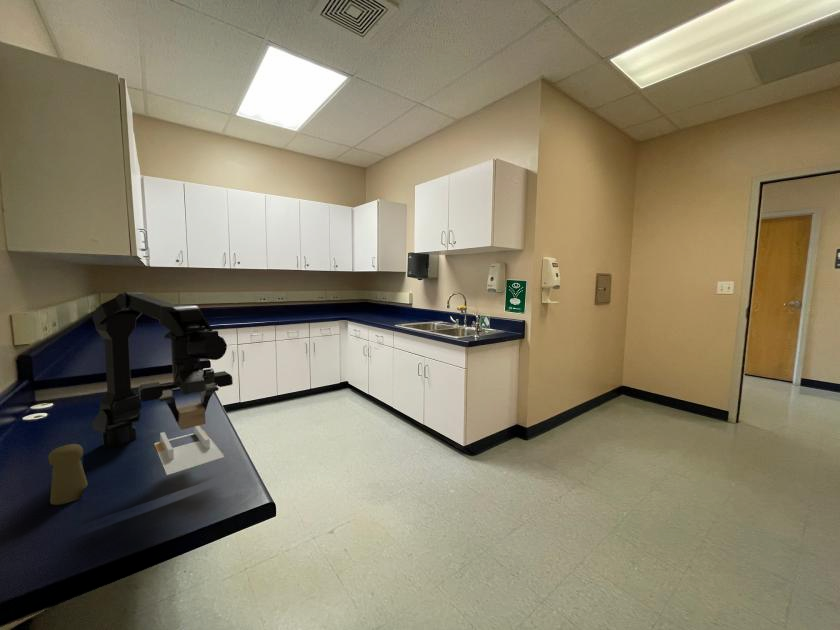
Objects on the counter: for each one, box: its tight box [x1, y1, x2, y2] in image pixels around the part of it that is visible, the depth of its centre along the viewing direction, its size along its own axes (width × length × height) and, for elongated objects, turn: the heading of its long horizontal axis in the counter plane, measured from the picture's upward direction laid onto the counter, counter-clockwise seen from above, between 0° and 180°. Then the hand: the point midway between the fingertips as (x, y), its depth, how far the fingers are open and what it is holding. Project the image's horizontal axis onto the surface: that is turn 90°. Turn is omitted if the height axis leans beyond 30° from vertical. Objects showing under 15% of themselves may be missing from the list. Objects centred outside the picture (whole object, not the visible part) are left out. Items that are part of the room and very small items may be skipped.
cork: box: [47, 443, 89, 506], centre depth 74 cm, size 6×6×11 cm
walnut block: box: [176, 401, 207, 431], centre depth 85 cm, size 6×5×4 cm
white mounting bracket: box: [153, 425, 225, 476], centre depth 92 cm, size 22×12×4 cm, turn 44°
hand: (190, 418), depth 86 cm, fingers closed on walnut block, 5 cm apart
